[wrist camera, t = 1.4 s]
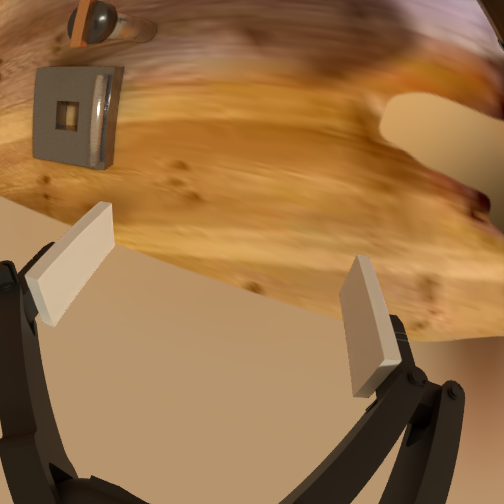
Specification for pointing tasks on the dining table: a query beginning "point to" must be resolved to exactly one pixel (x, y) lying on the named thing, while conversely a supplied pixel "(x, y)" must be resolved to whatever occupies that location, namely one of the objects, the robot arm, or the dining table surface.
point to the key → (105, 25)
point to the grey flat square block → (89, 117)
